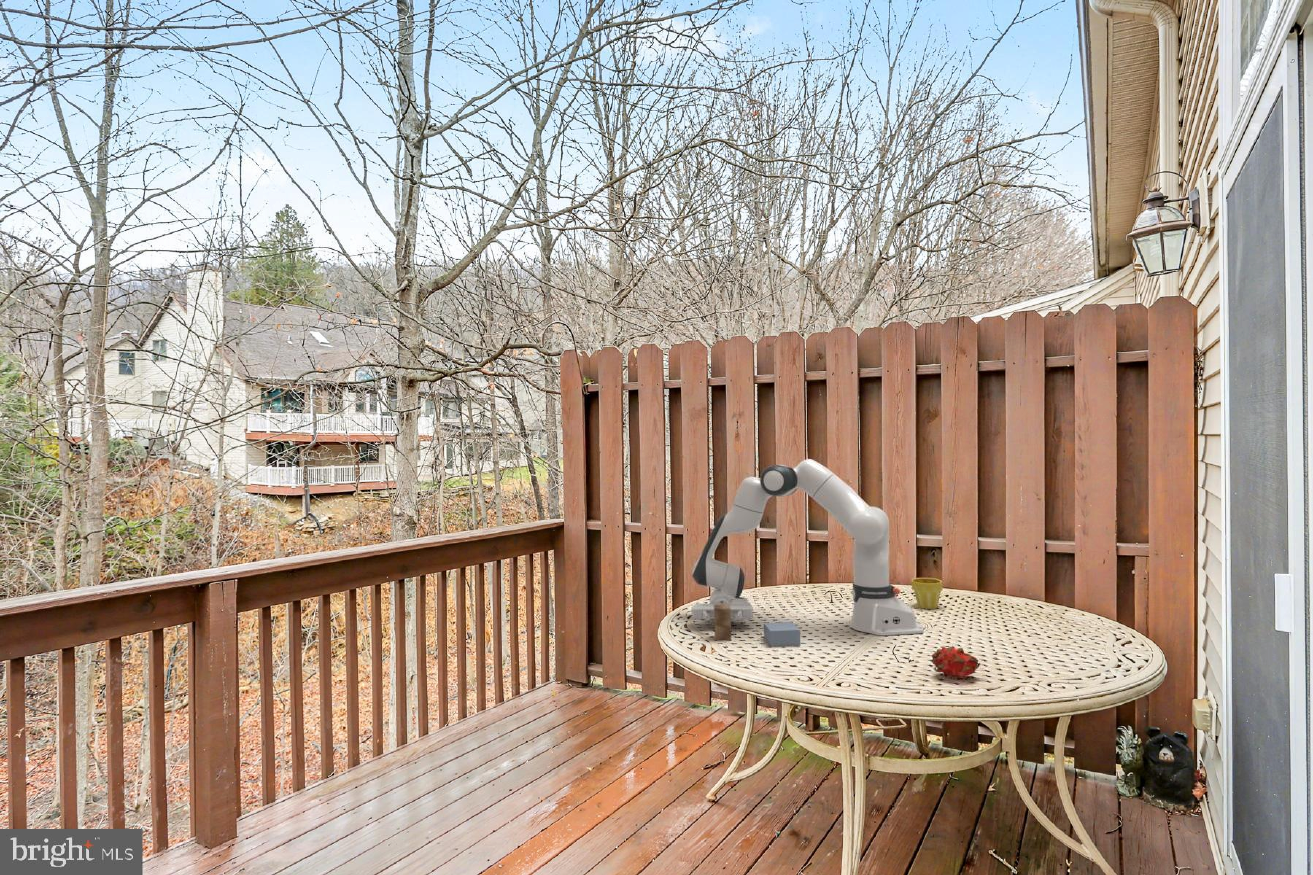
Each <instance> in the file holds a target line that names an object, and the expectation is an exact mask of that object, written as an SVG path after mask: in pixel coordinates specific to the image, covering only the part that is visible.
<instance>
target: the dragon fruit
mask: <svg viewBox="0 0 1313 875" xmlns="http://www.w3.org/2000/svg"><path fill="white" fill-rule="evenodd" d="M939 647H940V648H939V649H937V650H936V651H935V652H934V653H932V656H931V657H932V659H931V663H932V664H933V665H934V668H933V670H934V671H935V672H936V673H943V676H944V677H945V678H948V677H950V678H951V679H953V680H957V679H964V680H965V681H967V680H971V679H972V678H973V676H972V674H974V673H976V671H977V669H979V667H980V666H981V663H980V662H979V660H978V658H977V657H975V656H973V655H971V654H970V653H966V652H965V650H964V648H962V647H960V648H958V649H957V648H955V646H954V645H952V646H949V647H947V648H946V647H945V646H943V645H942V646H939Z"/></svg>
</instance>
